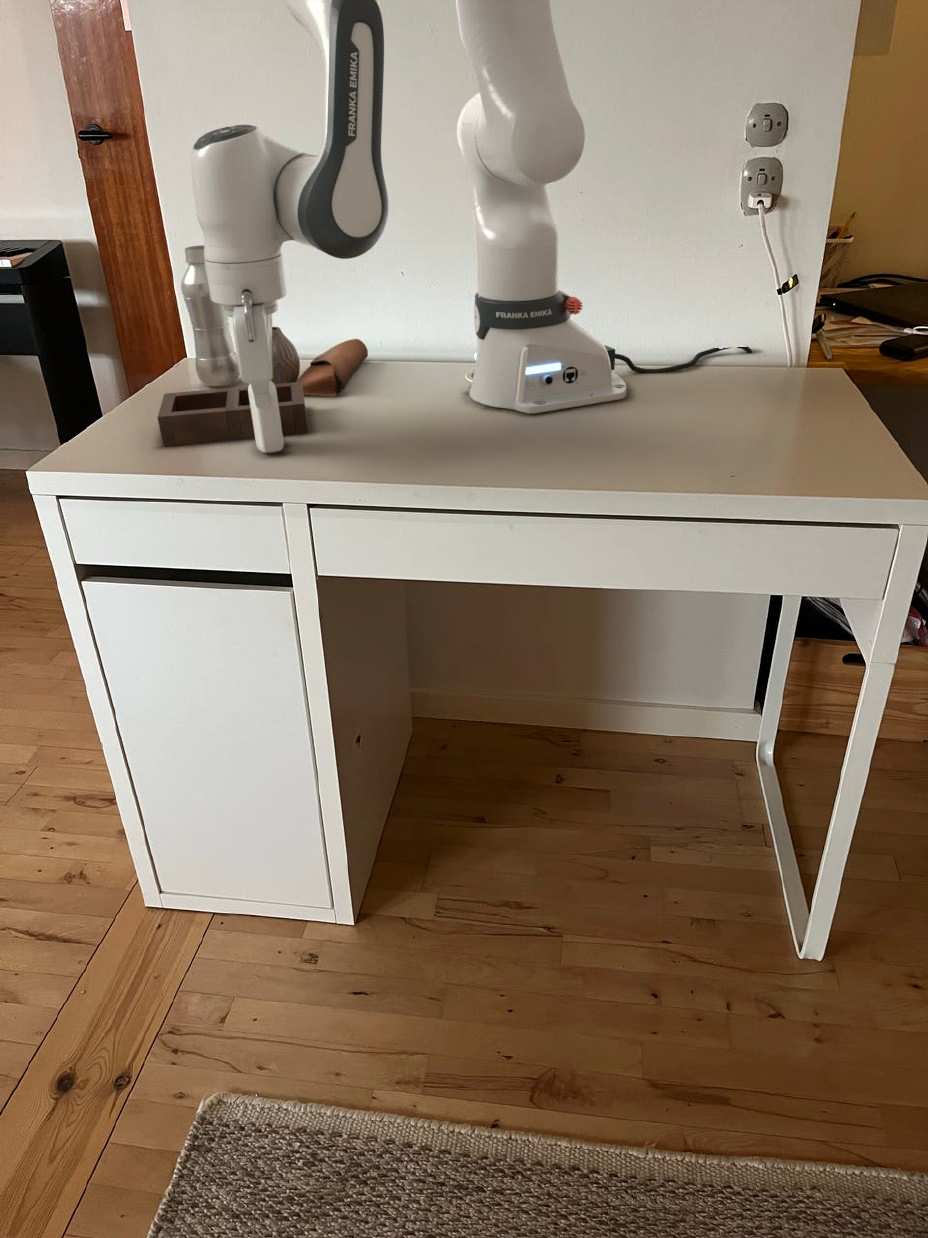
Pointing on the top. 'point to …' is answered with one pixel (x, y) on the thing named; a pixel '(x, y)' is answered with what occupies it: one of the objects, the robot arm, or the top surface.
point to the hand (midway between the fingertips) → (263, 397)
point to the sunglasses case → (333, 369)
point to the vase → (284, 358)
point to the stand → (224, 414)
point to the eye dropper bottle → (267, 422)
